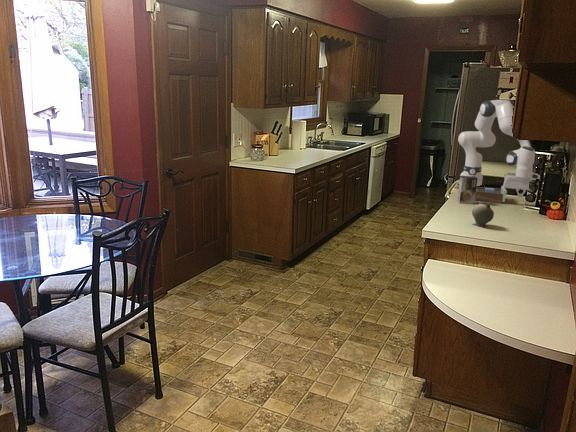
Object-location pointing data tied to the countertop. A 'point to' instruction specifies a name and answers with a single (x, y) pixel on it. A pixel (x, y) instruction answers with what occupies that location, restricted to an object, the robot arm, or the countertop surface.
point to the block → (489, 190)
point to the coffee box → (467, 189)
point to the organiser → (488, 196)
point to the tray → (503, 191)
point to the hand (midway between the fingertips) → (519, 196)
